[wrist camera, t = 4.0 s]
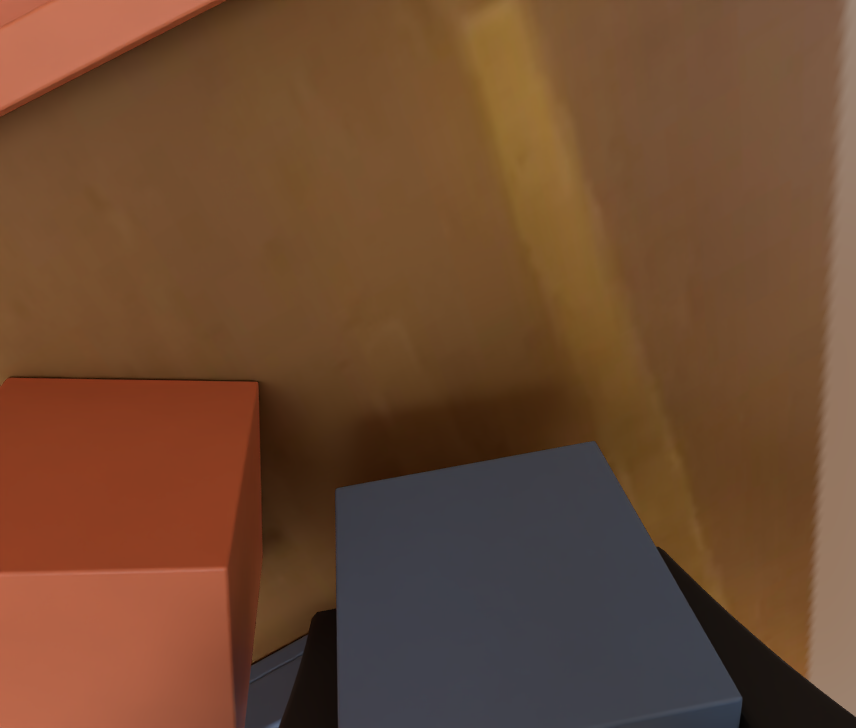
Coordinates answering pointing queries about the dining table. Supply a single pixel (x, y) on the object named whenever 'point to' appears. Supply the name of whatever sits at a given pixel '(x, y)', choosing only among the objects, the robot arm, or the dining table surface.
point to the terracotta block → (128, 552)
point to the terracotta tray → (75, 38)
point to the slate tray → (272, 686)
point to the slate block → (515, 604)
